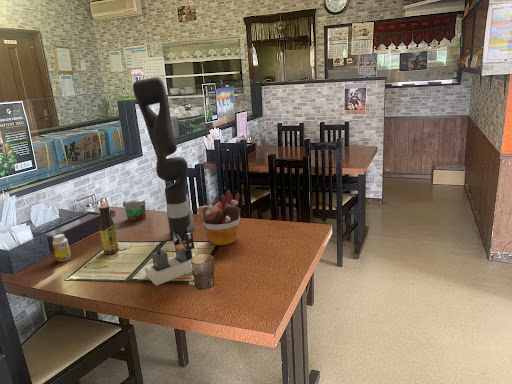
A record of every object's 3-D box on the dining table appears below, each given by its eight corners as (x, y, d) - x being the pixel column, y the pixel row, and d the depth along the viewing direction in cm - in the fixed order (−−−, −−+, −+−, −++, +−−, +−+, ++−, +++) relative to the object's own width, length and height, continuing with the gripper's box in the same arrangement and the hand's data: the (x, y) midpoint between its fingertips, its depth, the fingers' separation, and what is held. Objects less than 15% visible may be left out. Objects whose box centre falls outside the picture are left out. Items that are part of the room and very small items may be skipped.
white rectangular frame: (190, 260, 150) (186, 231, 147) (202, 268, 143) (198, 237, 140) (145, 276, 140) (140, 245, 137) (156, 285, 133) (150, 253, 130)
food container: (120, 222, 200) (117, 204, 197) (126, 218, 206) (123, 200, 203) (143, 222, 198) (140, 203, 195) (148, 218, 203) (145, 199, 201)
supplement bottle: (56, 258, 162) (51, 235, 159) (71, 254, 164) (66, 232, 162) (56, 263, 157) (50, 239, 154) (71, 259, 159) (66, 236, 157)
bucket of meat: (229, 252, 155) (224, 204, 150) (194, 247, 162) (189, 201, 157) (251, 233, 173) (247, 190, 167) (218, 230, 180) (214, 188, 174)
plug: (187, 262, 147) (184, 242, 144) (192, 265, 143) (189, 245, 141) (177, 265, 144) (174, 245, 142) (182, 269, 141) (179, 248, 139)
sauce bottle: (114, 255, 160) (105, 209, 155) (100, 255, 162) (91, 209, 156) (122, 248, 167) (114, 204, 161) (109, 248, 168) (100, 204, 163)
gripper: (197, 215, 135) (202, 258, 139) (178, 206, 146) (184, 247, 150) (177, 221, 131) (183, 265, 135) (160, 211, 142) (166, 253, 146)
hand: (183, 255), depth 143 cm, fingers open, 8 cm apart
